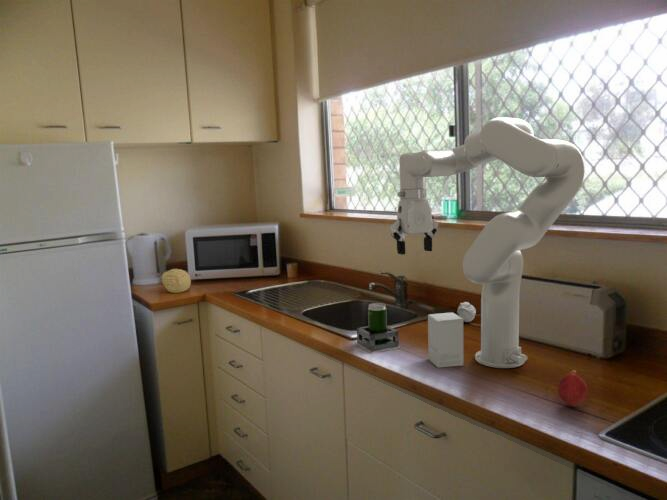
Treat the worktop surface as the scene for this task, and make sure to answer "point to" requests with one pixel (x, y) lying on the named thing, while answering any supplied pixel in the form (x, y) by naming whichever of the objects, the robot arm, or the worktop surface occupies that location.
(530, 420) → the worktop surface
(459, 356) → the supplement box
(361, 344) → the collar stand
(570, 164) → the robot arm
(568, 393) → the onion
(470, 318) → the crumpled paper ball
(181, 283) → the pale yellow bumpy ball
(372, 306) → the beer can
